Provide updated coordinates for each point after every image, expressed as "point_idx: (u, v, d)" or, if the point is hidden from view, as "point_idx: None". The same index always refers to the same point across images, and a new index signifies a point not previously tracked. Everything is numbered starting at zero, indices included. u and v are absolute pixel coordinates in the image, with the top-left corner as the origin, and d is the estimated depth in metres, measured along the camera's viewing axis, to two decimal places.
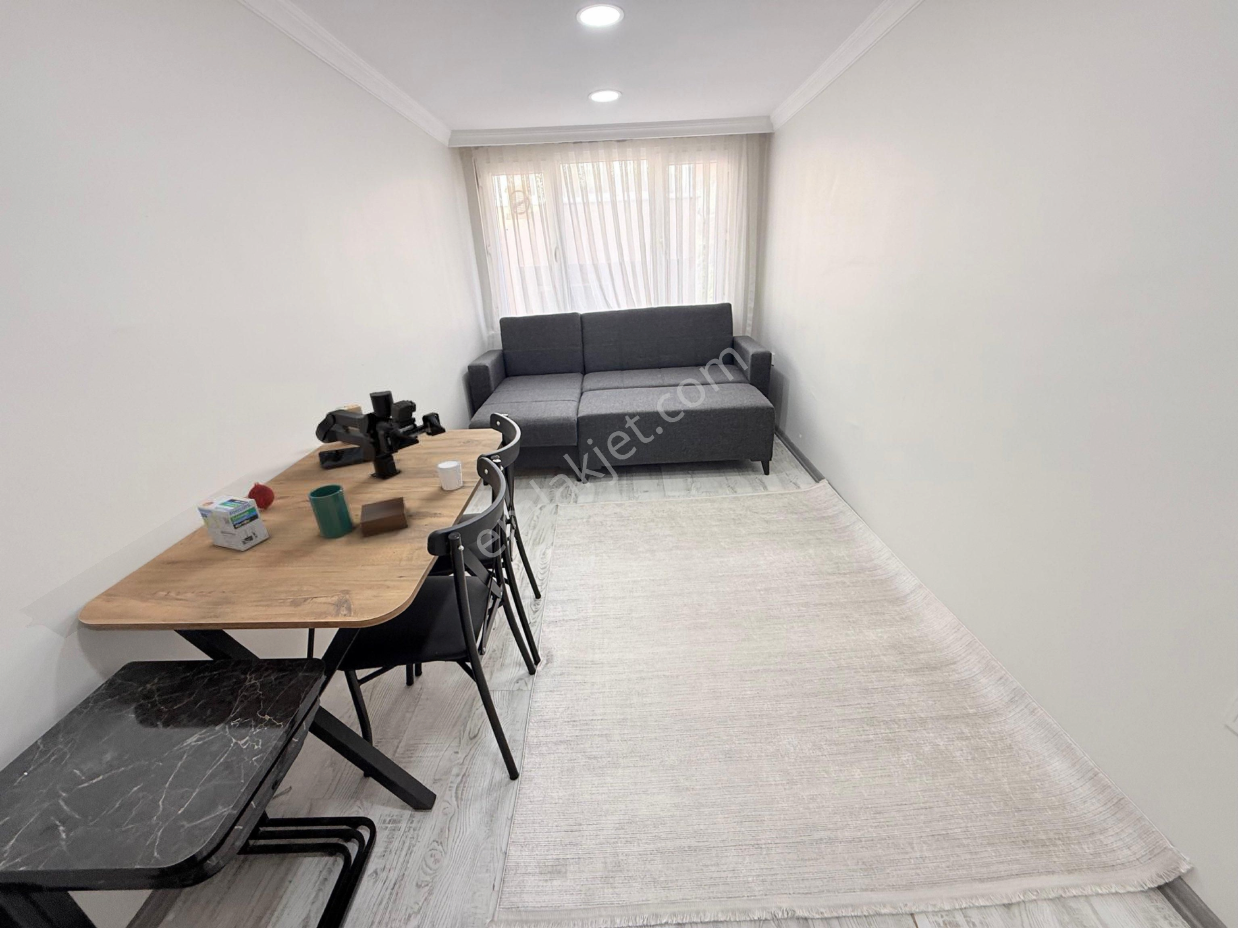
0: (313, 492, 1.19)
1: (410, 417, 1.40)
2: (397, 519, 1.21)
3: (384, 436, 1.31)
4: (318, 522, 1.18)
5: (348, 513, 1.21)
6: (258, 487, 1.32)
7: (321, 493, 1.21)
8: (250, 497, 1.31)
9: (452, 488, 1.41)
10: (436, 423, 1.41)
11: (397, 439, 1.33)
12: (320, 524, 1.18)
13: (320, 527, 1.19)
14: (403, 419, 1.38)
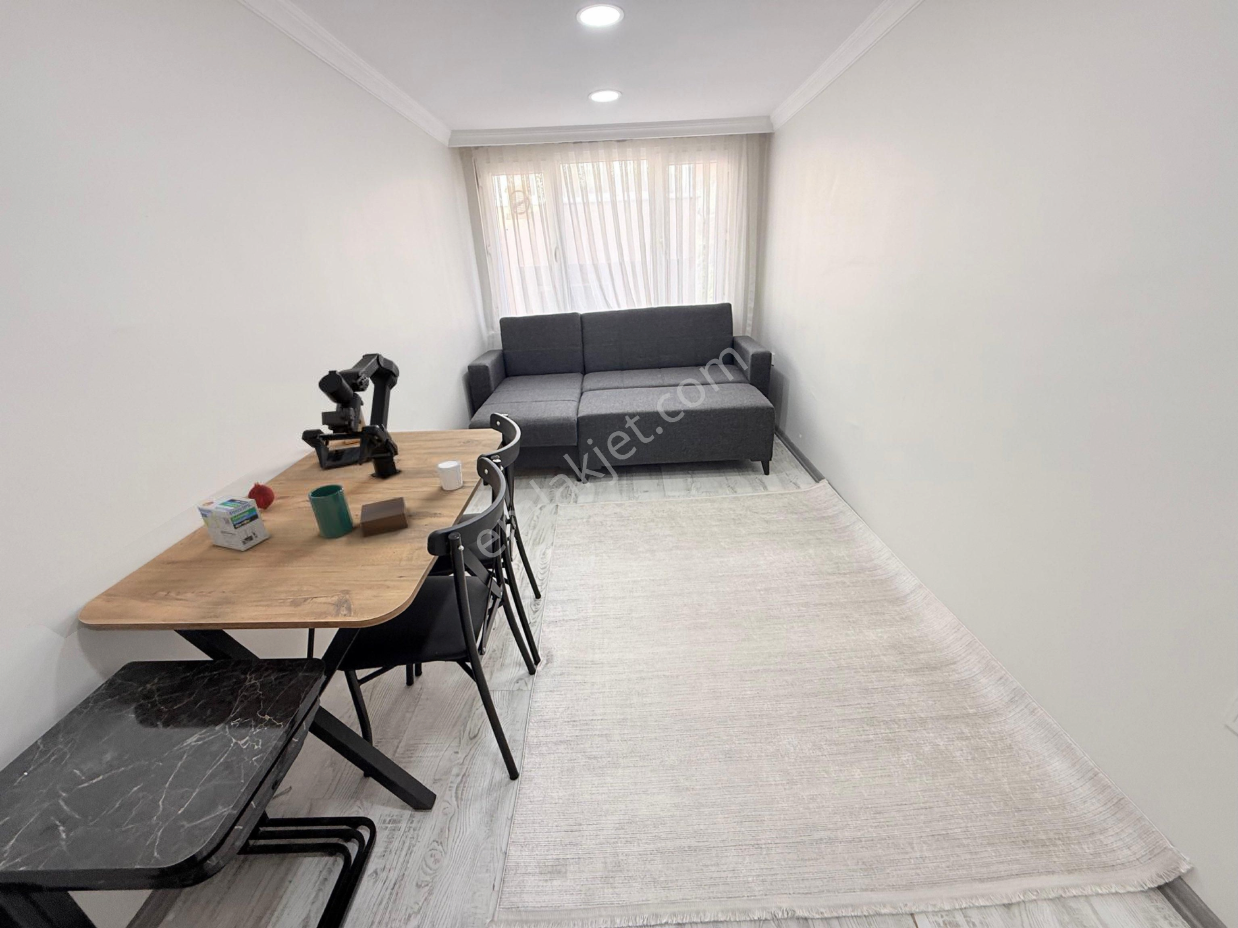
0: (313, 492, 1.19)
1: (346, 424, 1.26)
2: (397, 519, 1.21)
3: (303, 440, 1.25)
4: (318, 522, 1.18)
5: (348, 513, 1.21)
6: (258, 487, 1.32)
7: (321, 493, 1.21)
8: (250, 497, 1.31)
9: (452, 488, 1.41)
10: (362, 447, 1.26)
11: None
12: (320, 524, 1.18)
13: (320, 527, 1.19)
14: (336, 425, 1.25)
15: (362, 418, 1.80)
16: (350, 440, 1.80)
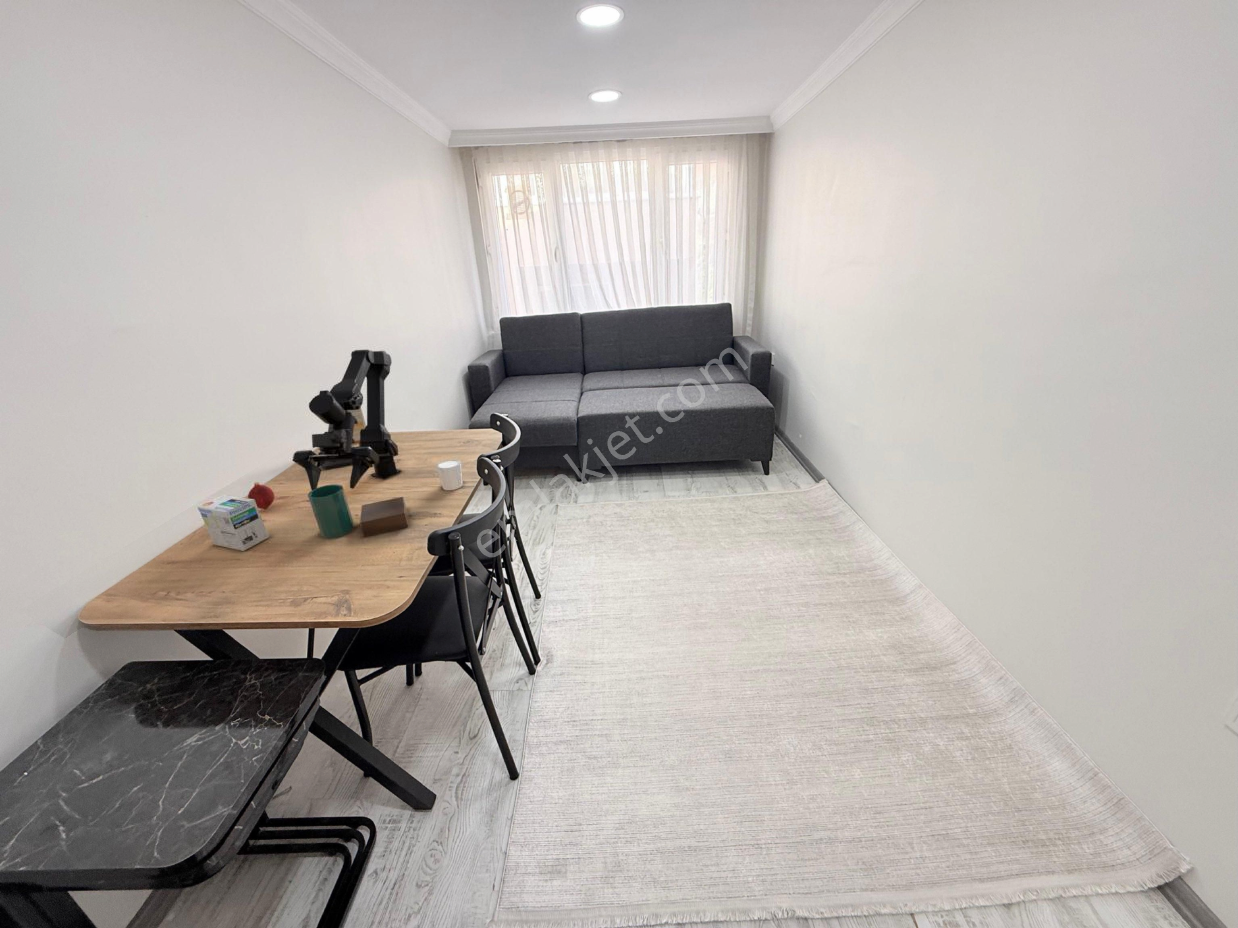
0: (313, 492, 1.19)
1: (337, 446, 1.22)
2: (397, 519, 1.21)
3: (295, 461, 1.22)
4: (318, 522, 1.18)
5: (348, 513, 1.21)
6: (258, 487, 1.32)
7: (321, 493, 1.21)
8: (250, 497, 1.31)
9: (452, 488, 1.41)
10: (354, 470, 1.22)
11: None
12: (320, 524, 1.18)
13: (320, 527, 1.19)
14: (327, 446, 1.22)
15: (362, 418, 1.80)
16: None
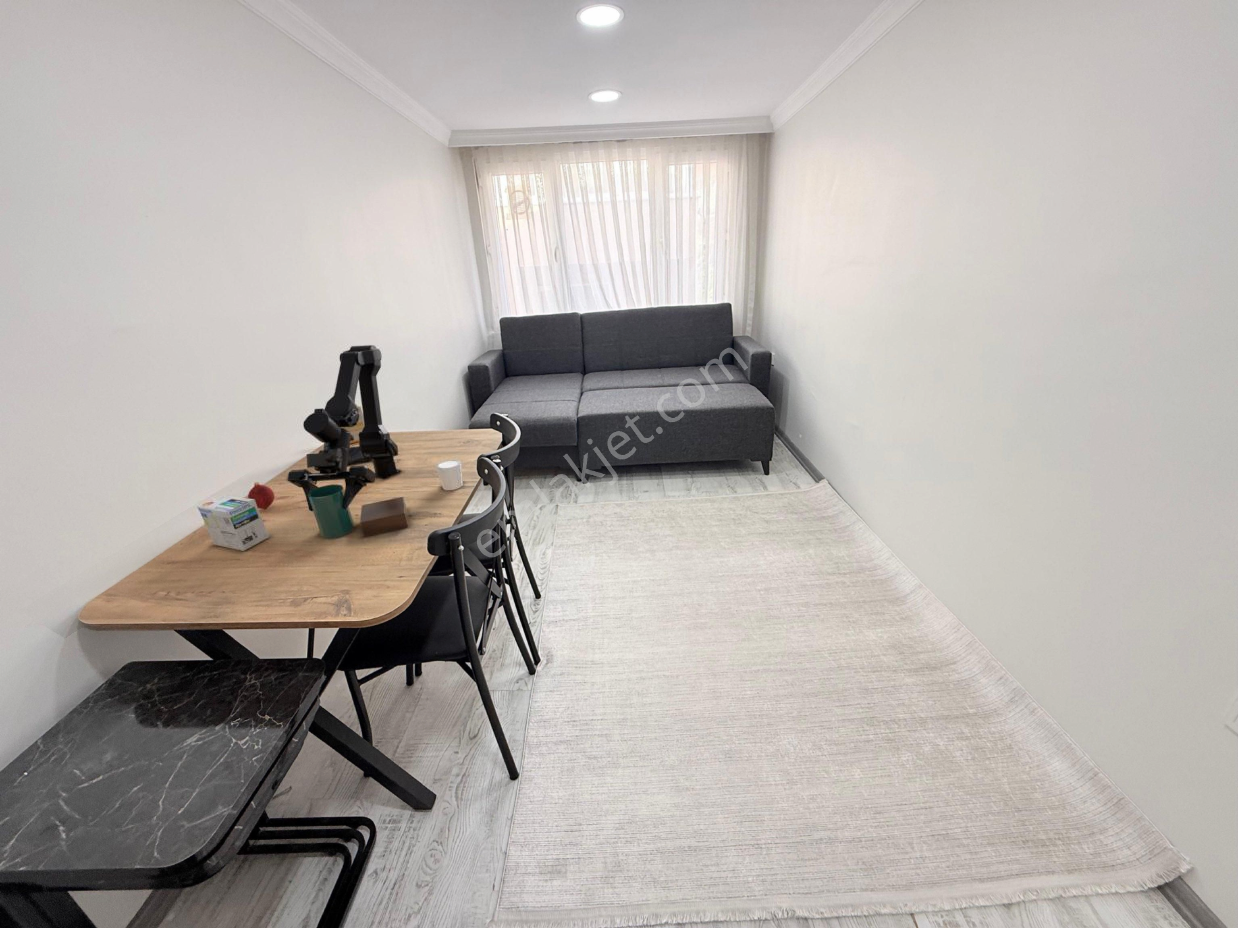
0: (313, 492, 1.19)
1: (333, 465, 1.19)
2: (397, 519, 1.21)
3: (289, 481, 1.19)
4: (318, 522, 1.18)
5: (348, 513, 1.21)
6: (258, 487, 1.32)
7: (321, 493, 1.21)
8: (250, 497, 1.31)
9: (452, 488, 1.41)
10: (347, 490, 1.19)
11: None
12: (320, 524, 1.18)
13: (320, 527, 1.19)
14: (323, 466, 1.19)
15: (362, 418, 1.80)
16: None
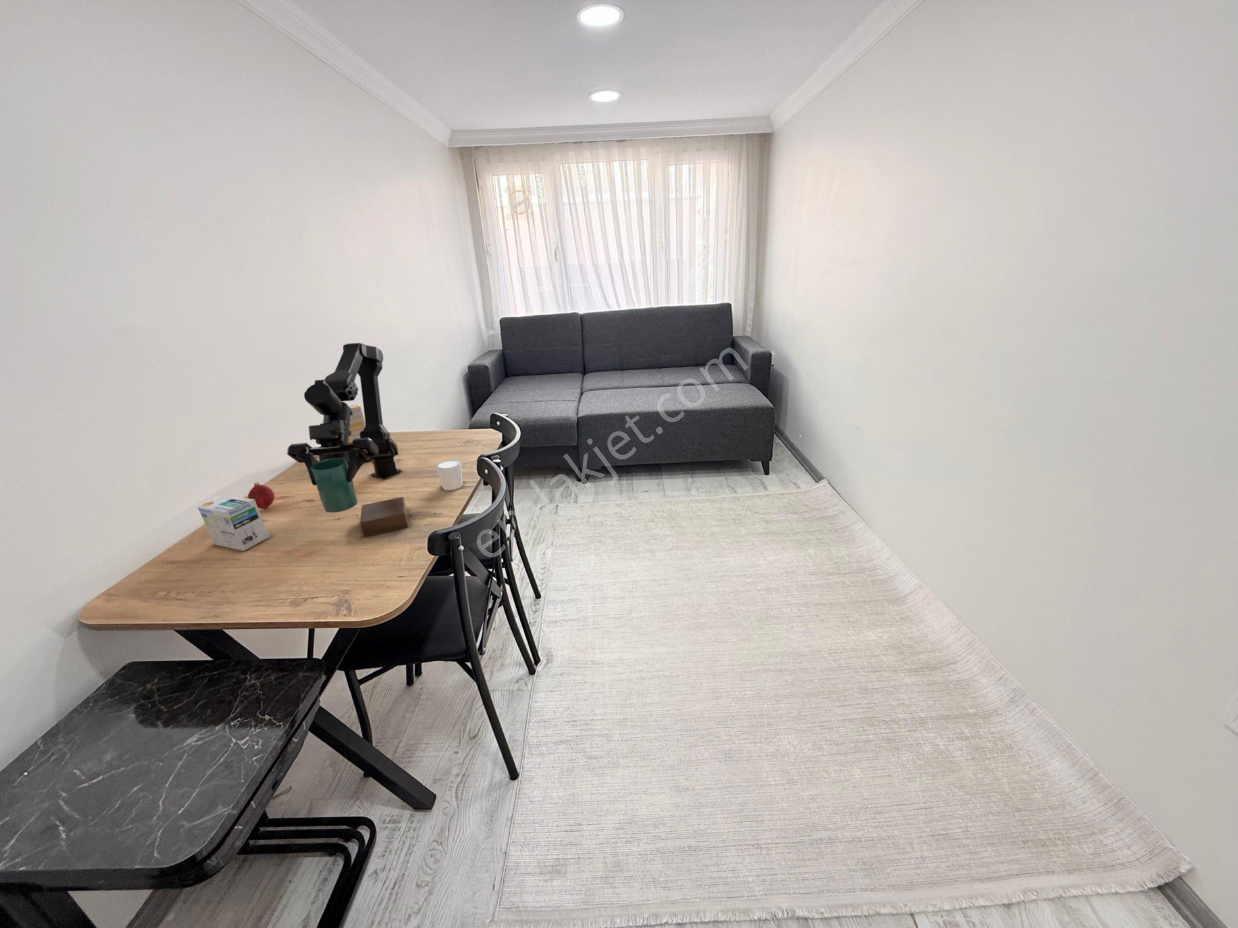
0: (315, 466, 1.16)
1: (335, 438, 1.17)
2: (397, 519, 1.21)
3: (289, 455, 1.16)
4: (322, 496, 1.16)
5: (352, 487, 1.19)
6: (258, 487, 1.32)
7: (323, 467, 1.18)
8: (250, 497, 1.31)
9: (452, 488, 1.41)
10: (351, 463, 1.17)
11: None
12: (324, 498, 1.16)
13: (324, 501, 1.16)
14: (325, 438, 1.17)
15: (362, 418, 1.80)
16: (350, 440, 1.80)
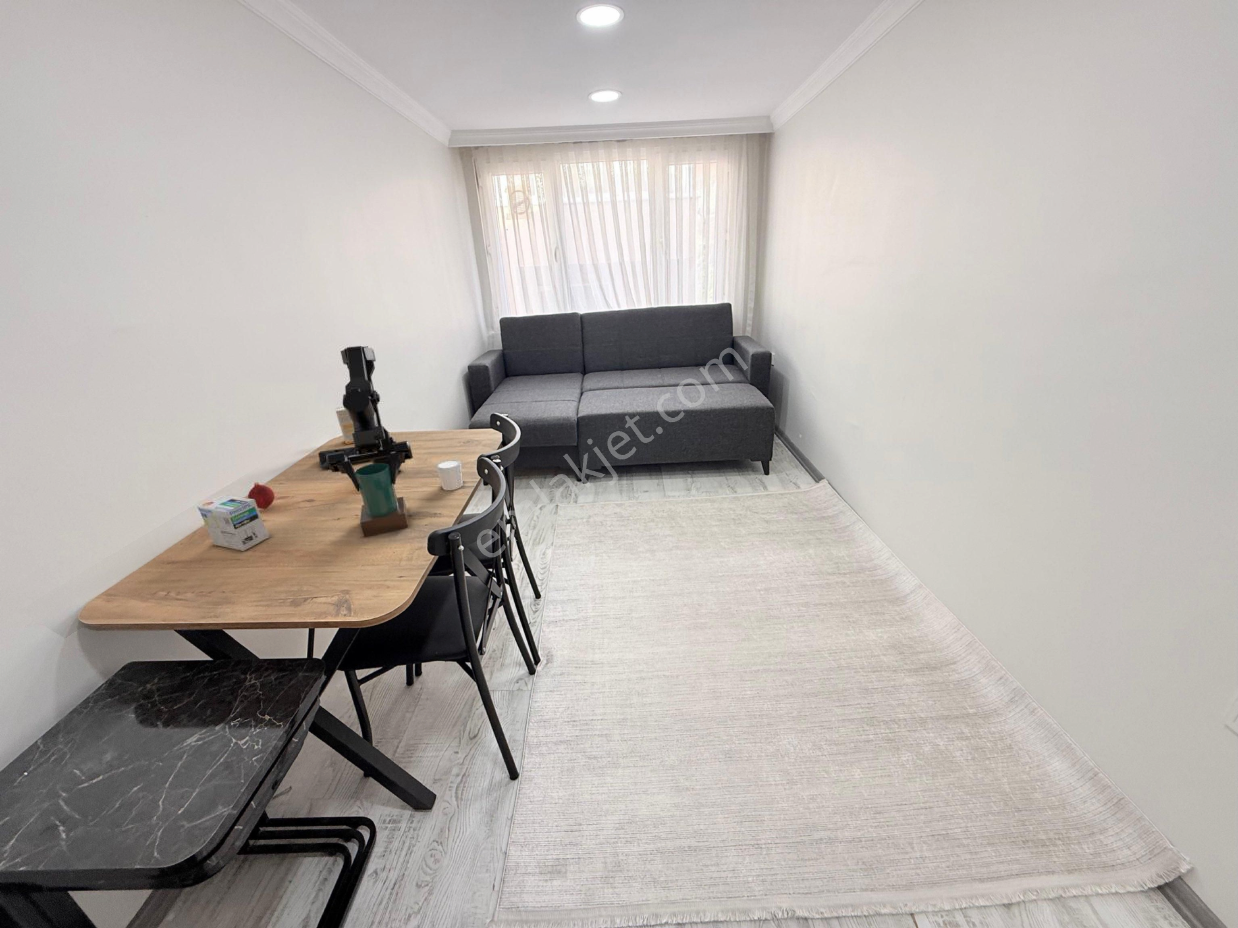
0: (358, 472, 1.19)
1: (375, 443, 1.21)
2: (397, 519, 1.21)
3: (328, 464, 1.17)
4: (369, 501, 1.19)
5: (394, 489, 1.23)
6: (258, 487, 1.32)
7: (363, 473, 1.21)
8: (250, 497, 1.31)
9: (452, 488, 1.41)
10: (394, 466, 1.22)
11: None
12: (371, 502, 1.19)
13: (371, 506, 1.19)
14: (364, 445, 1.20)
15: None
16: (350, 440, 1.80)
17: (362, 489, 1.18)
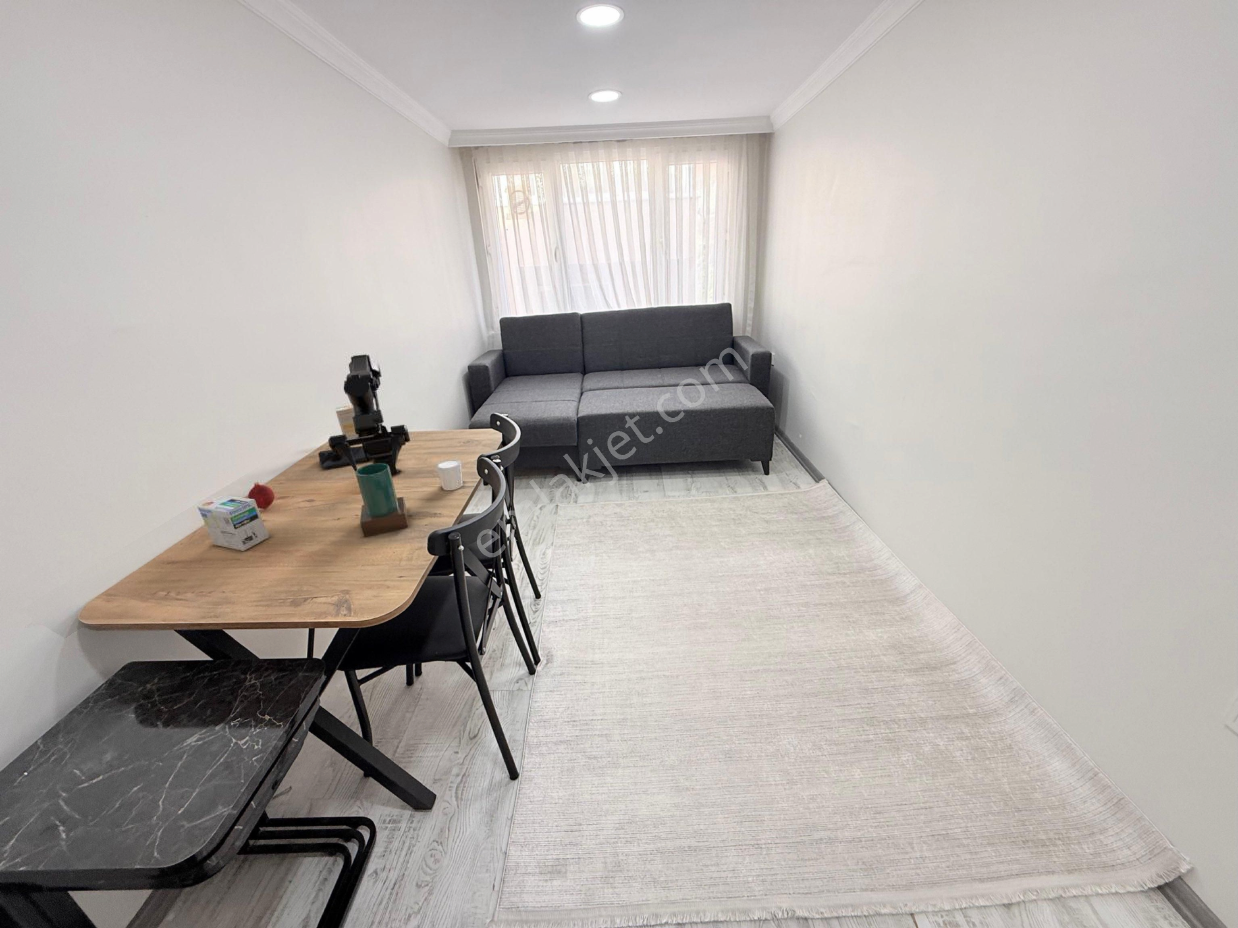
0: (358, 472, 1.19)
1: (374, 427, 1.28)
2: (397, 519, 1.21)
3: (330, 446, 1.25)
4: (369, 501, 1.19)
5: (394, 489, 1.23)
6: (258, 487, 1.32)
7: (363, 473, 1.21)
8: (250, 497, 1.31)
9: (452, 488, 1.41)
10: (394, 448, 1.29)
11: None
12: (371, 502, 1.19)
13: (371, 506, 1.19)
14: (364, 428, 1.27)
15: None
16: None
17: (362, 489, 1.18)
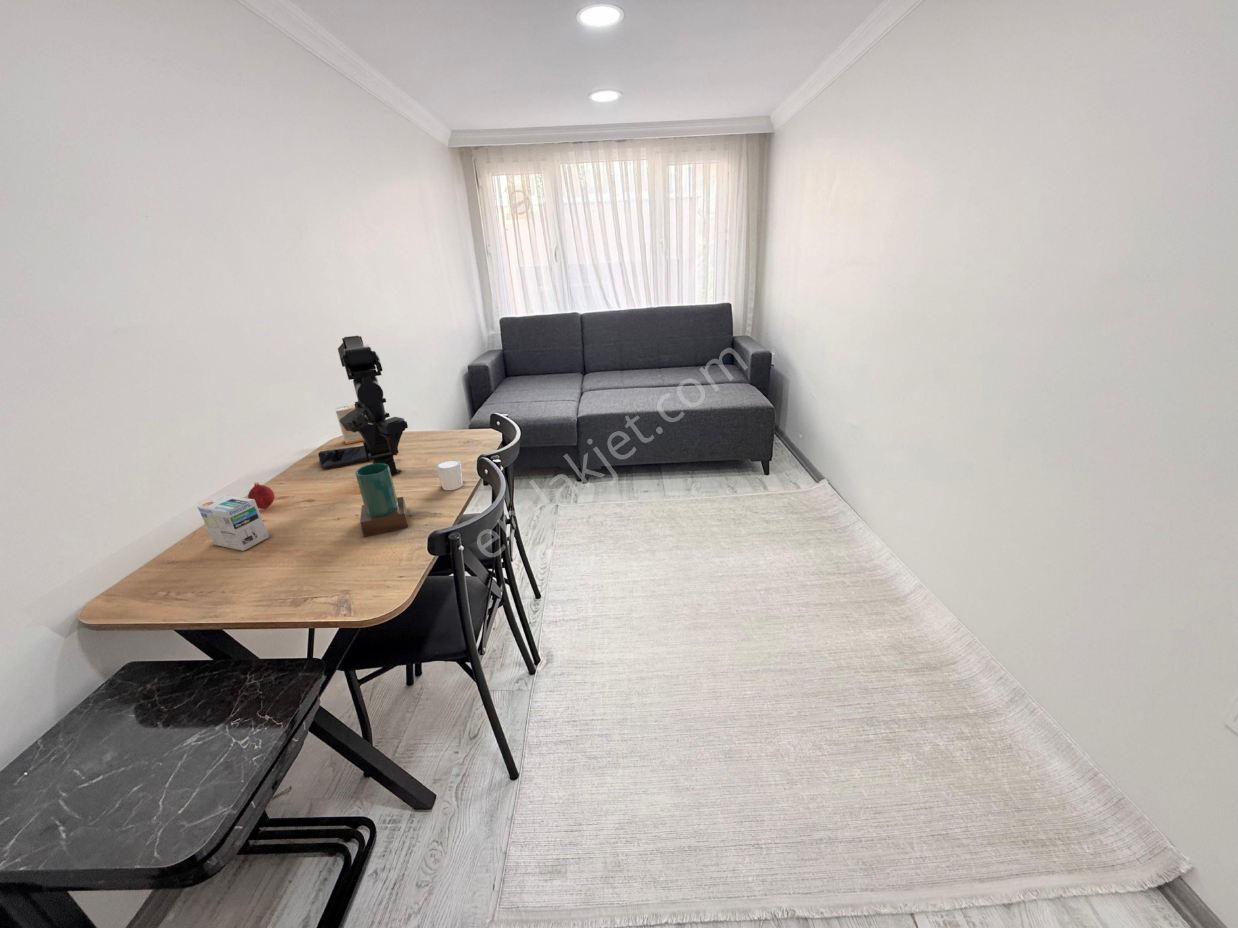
0: (358, 472, 1.19)
1: None
2: (397, 519, 1.21)
3: None
4: (369, 501, 1.19)
5: (394, 489, 1.23)
6: (258, 487, 1.32)
7: (363, 473, 1.21)
8: (250, 497, 1.31)
9: (452, 488, 1.41)
10: (388, 441, 1.30)
11: None
12: (371, 502, 1.19)
13: (370, 506, 1.19)
14: None
15: None
16: (350, 440, 1.80)
17: (362, 489, 1.18)
